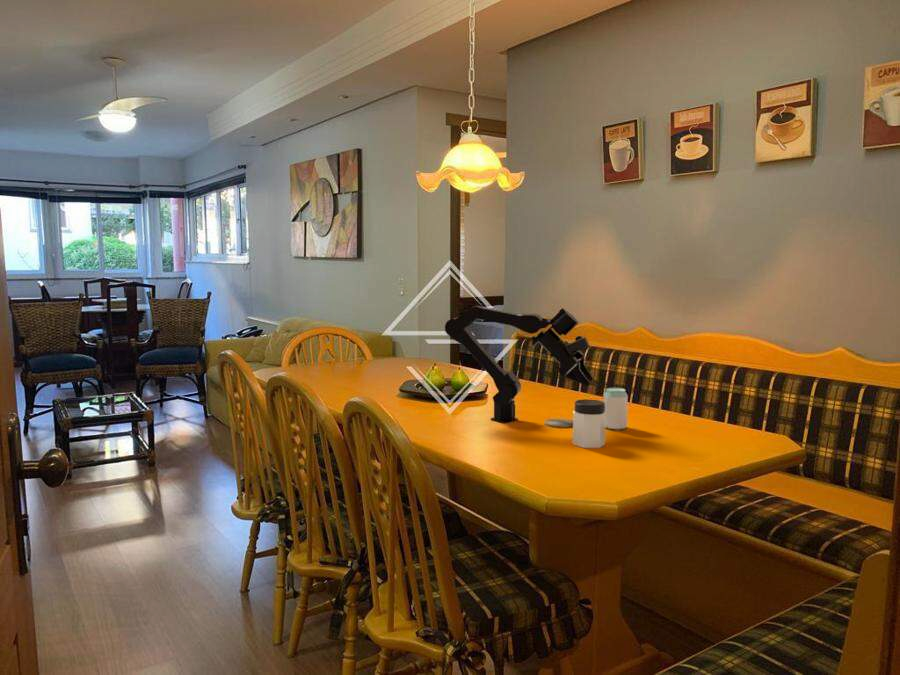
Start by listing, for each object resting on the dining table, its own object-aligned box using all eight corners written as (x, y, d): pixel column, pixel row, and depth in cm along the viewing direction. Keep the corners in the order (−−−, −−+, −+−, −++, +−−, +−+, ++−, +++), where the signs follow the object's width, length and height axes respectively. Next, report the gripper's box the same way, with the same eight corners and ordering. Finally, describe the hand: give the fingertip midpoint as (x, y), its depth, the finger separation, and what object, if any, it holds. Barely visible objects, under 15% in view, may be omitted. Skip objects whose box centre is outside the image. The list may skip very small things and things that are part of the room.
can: (629, 426, 208) (630, 388, 207) (623, 431, 202) (624, 392, 201) (607, 424, 212) (608, 386, 210) (600, 428, 206) (600, 390, 204)
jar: (611, 446, 186) (612, 403, 185) (588, 450, 182) (589, 406, 181) (589, 438, 194) (590, 397, 193) (567, 442, 190) (567, 400, 189)
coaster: (569, 429, 205) (569, 427, 205) (539, 425, 210) (539, 423, 210) (581, 422, 214) (581, 420, 214) (551, 418, 219) (551, 417, 219)
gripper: (569, 330, 199) (607, 369, 197) (577, 325, 216) (612, 360, 214) (542, 356, 202) (579, 394, 200) (552, 348, 220) (586, 383, 217)
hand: (590, 382), depth 208 cm, fingers open, 9 cm apart
